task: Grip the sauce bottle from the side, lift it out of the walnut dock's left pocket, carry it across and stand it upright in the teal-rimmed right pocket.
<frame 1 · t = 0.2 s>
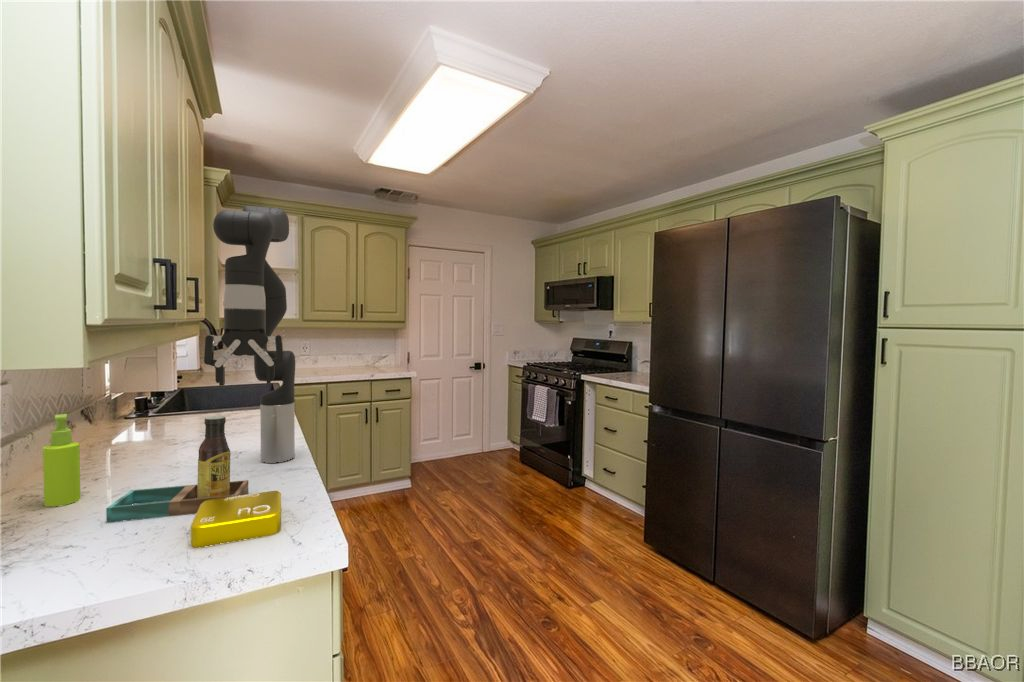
hand: (245, 384, 95), 29 cm above the counter, tool pointing down, fingers open, 8 cm apart
twin dock: (183, 506, 101), on the counter
element tile: (240, 528, 92), on the counter
soap dispenser: (62, 502, 103), on the counter
sauce bottle: (214, 503, 103), resting in twin dock
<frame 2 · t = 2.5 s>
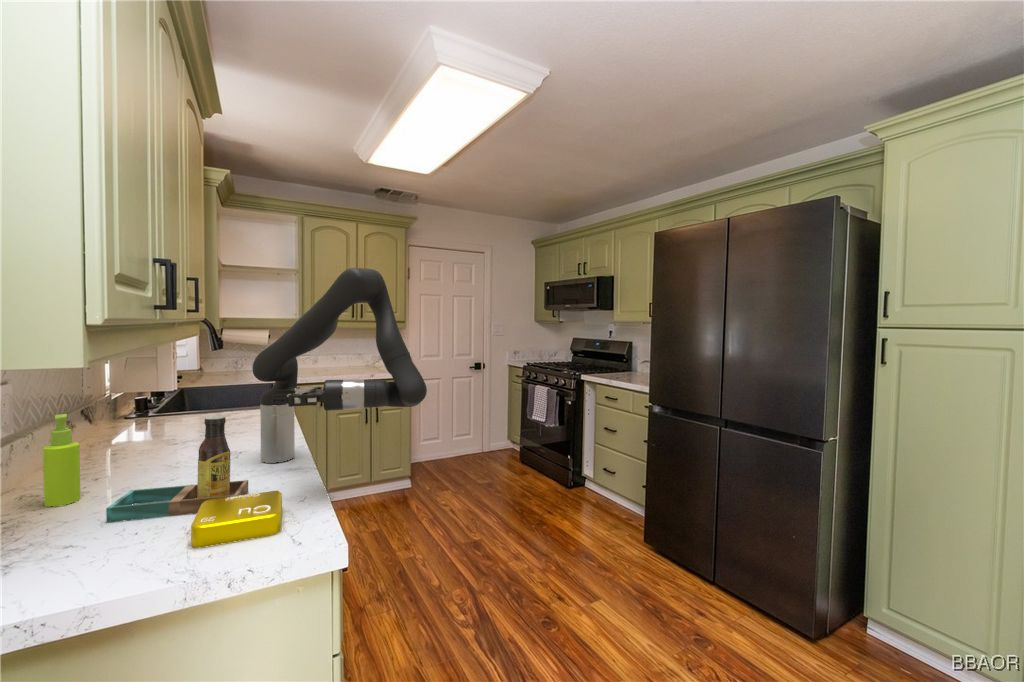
hand: (271, 397, 106), 24 cm above the counter, tool horizontal, fingers open, 8 cm apart
nothing on the counter moved.
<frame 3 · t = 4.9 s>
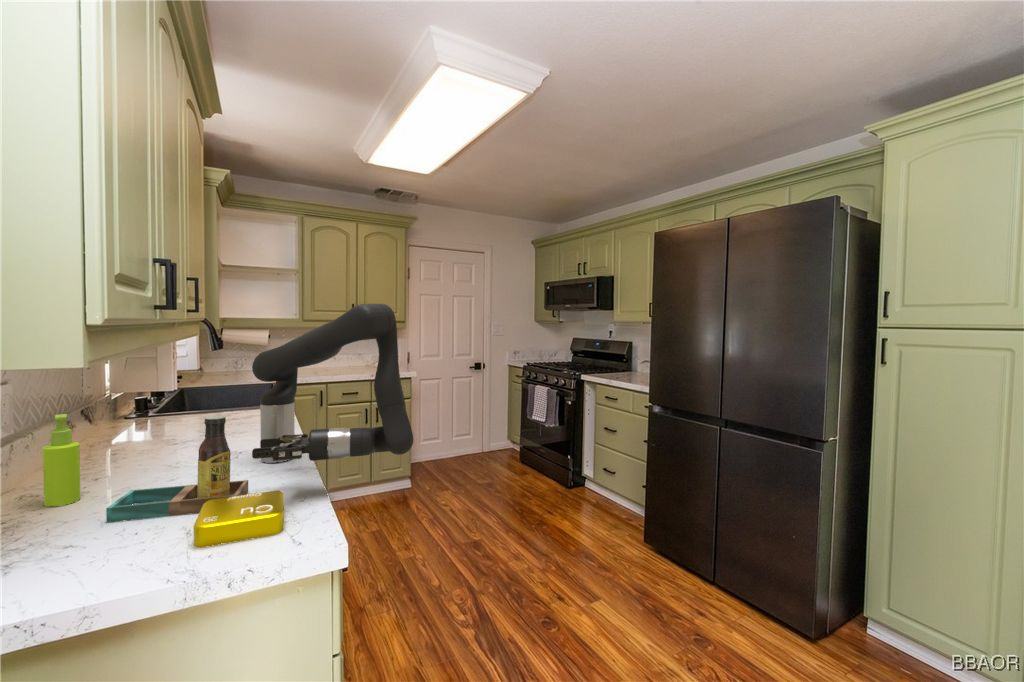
hand: (256, 448, 106), 12 cm above the counter, tool horizontal, fingers open, 8 cm apart
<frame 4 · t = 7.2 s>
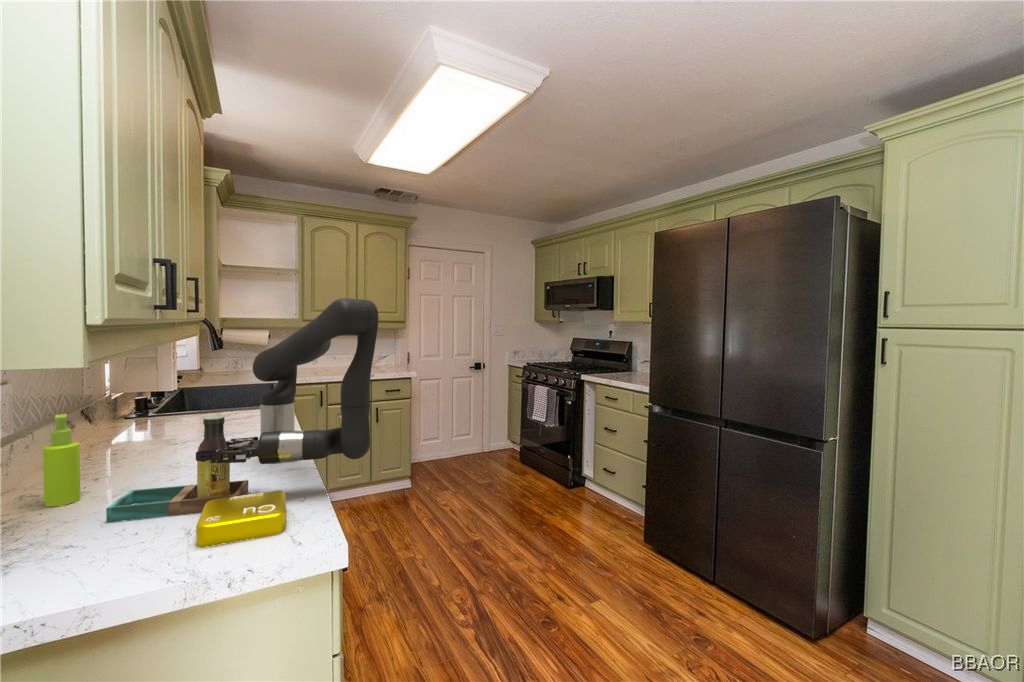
hand: (201, 452, 102), 12 cm above the counter, tool horizontal, fingers closed on sauce bottle, 6 cm apart
sauce bottle: (214, 503, 103), resting in twin dock, touching gripper
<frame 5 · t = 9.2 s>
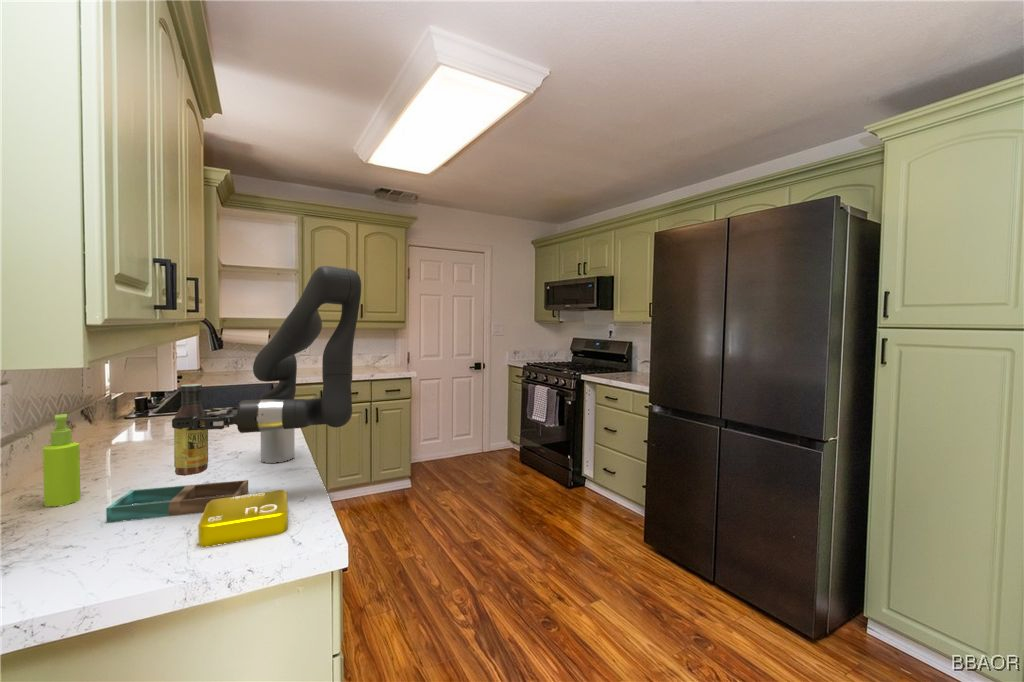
hand: (178, 420, 100), 20 cm above the counter, tool horizontal, fingers closed on sauce bottle, 6 cm apart
sauce bottle: (192, 472, 101), point 7 cm above the counter, touching gripper
when the fingers open (13 cm above the counter, at t = 11.5 s): sauce bottle drops 1 cm, resting in twin dock.
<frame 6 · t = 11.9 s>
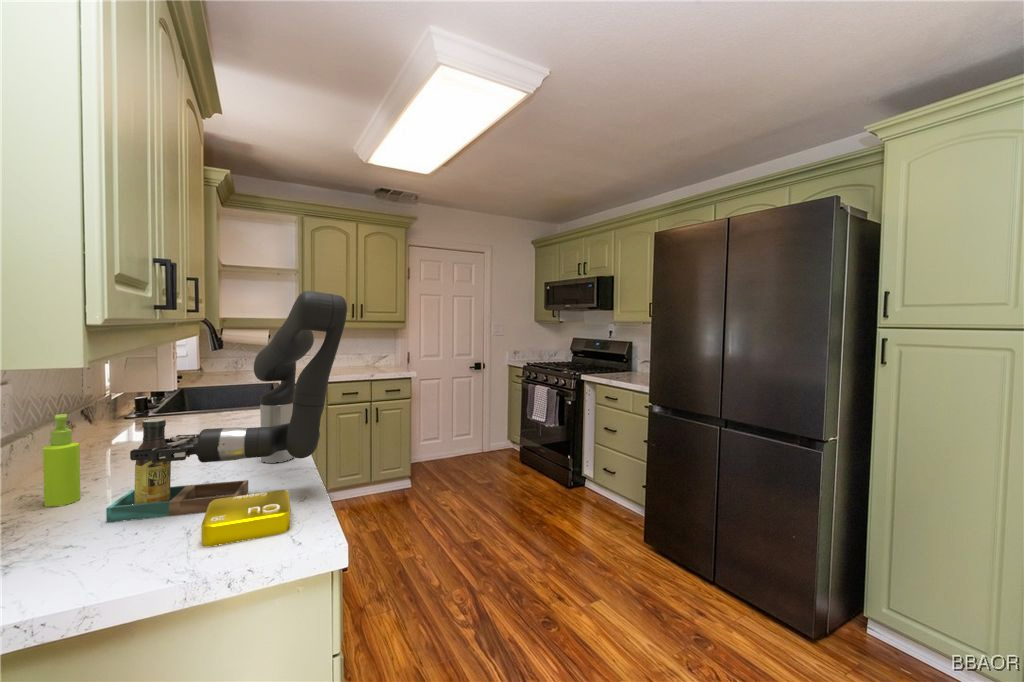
hand: (140, 449, 98), 14 cm above the counter, tool horizontal, fingers open, 8 cm apart
sauce bottle: (153, 509, 99), resting in twin dock
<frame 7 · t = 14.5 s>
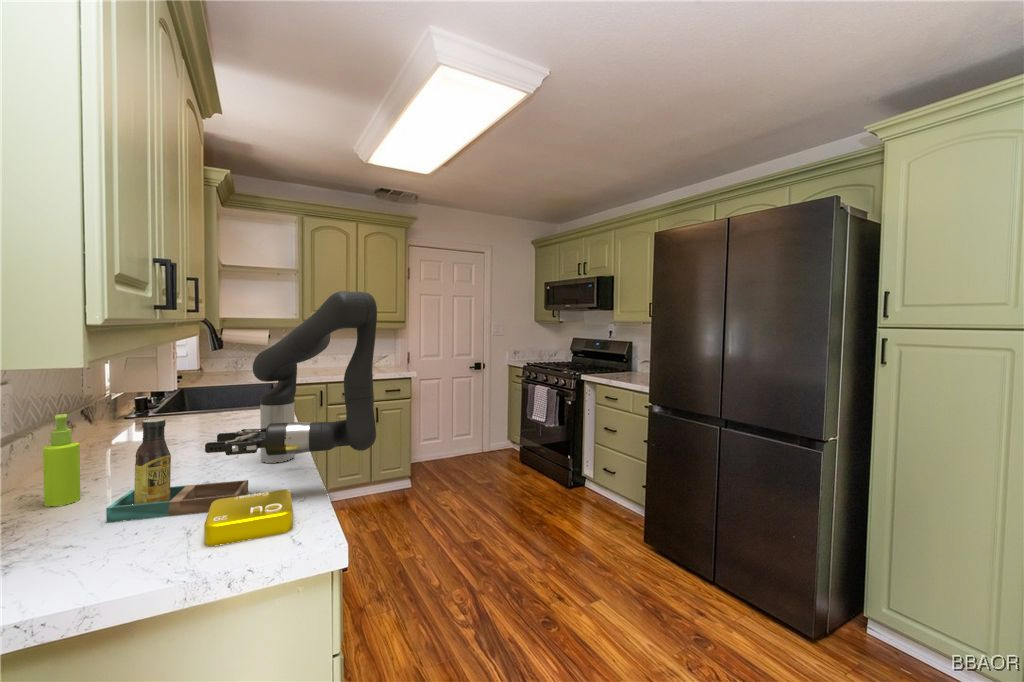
hand: (211, 442, 103), 14 cm above the counter, tool horizontal, fingers open, 8 cm apart
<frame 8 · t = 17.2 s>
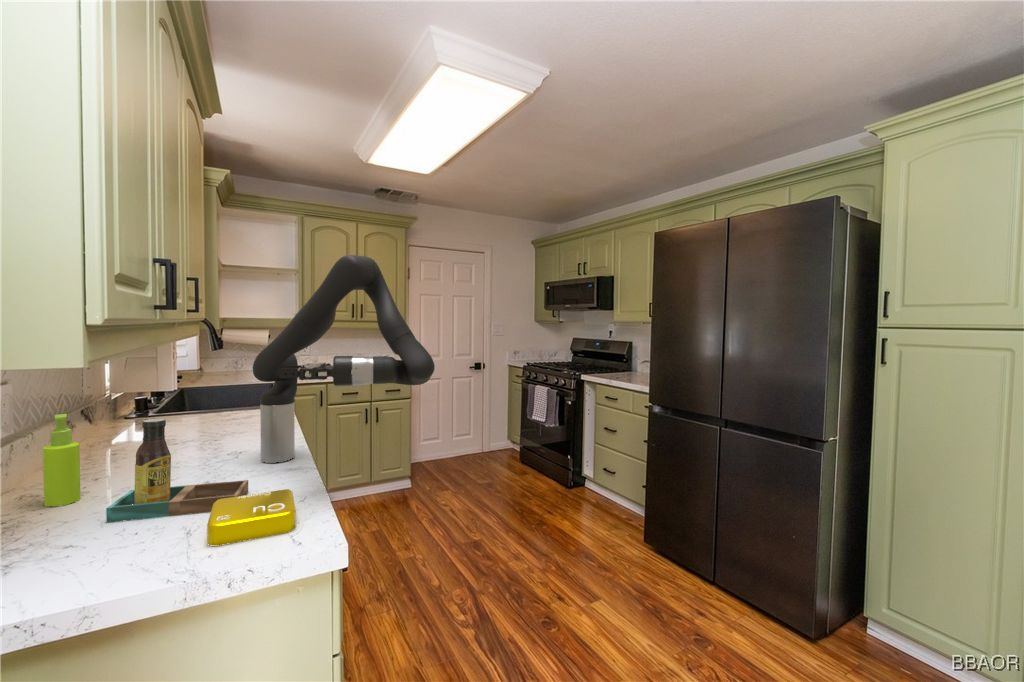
hand: (282, 371, 108), 30 cm above the counter, tool horizontal, fingers open, 8 cm apart
at the end: sauce bottle 0.3 cm from the target spot on the twin dock, point 0.0 cm above the twin dock's base; sauce bottle tilted 0°; the gripper is holding nothing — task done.
